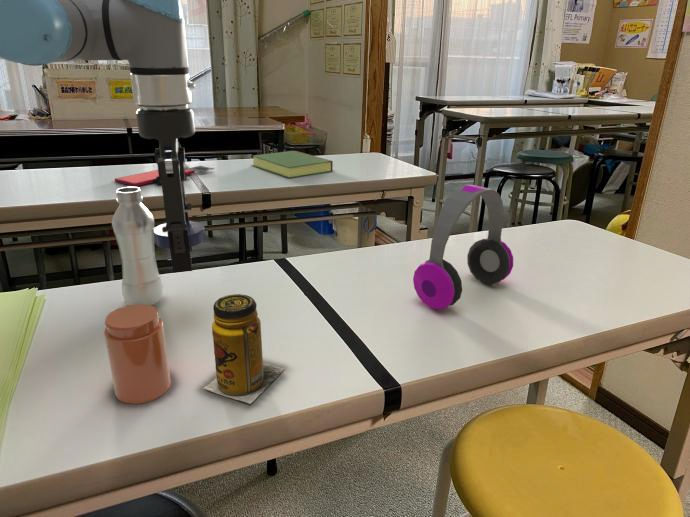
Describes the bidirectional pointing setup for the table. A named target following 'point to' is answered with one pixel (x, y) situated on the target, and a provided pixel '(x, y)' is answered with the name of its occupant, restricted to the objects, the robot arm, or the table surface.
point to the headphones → (483, 257)
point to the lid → (194, 233)
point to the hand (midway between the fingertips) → (183, 260)
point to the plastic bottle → (136, 248)
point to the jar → (137, 353)
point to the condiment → (239, 350)
